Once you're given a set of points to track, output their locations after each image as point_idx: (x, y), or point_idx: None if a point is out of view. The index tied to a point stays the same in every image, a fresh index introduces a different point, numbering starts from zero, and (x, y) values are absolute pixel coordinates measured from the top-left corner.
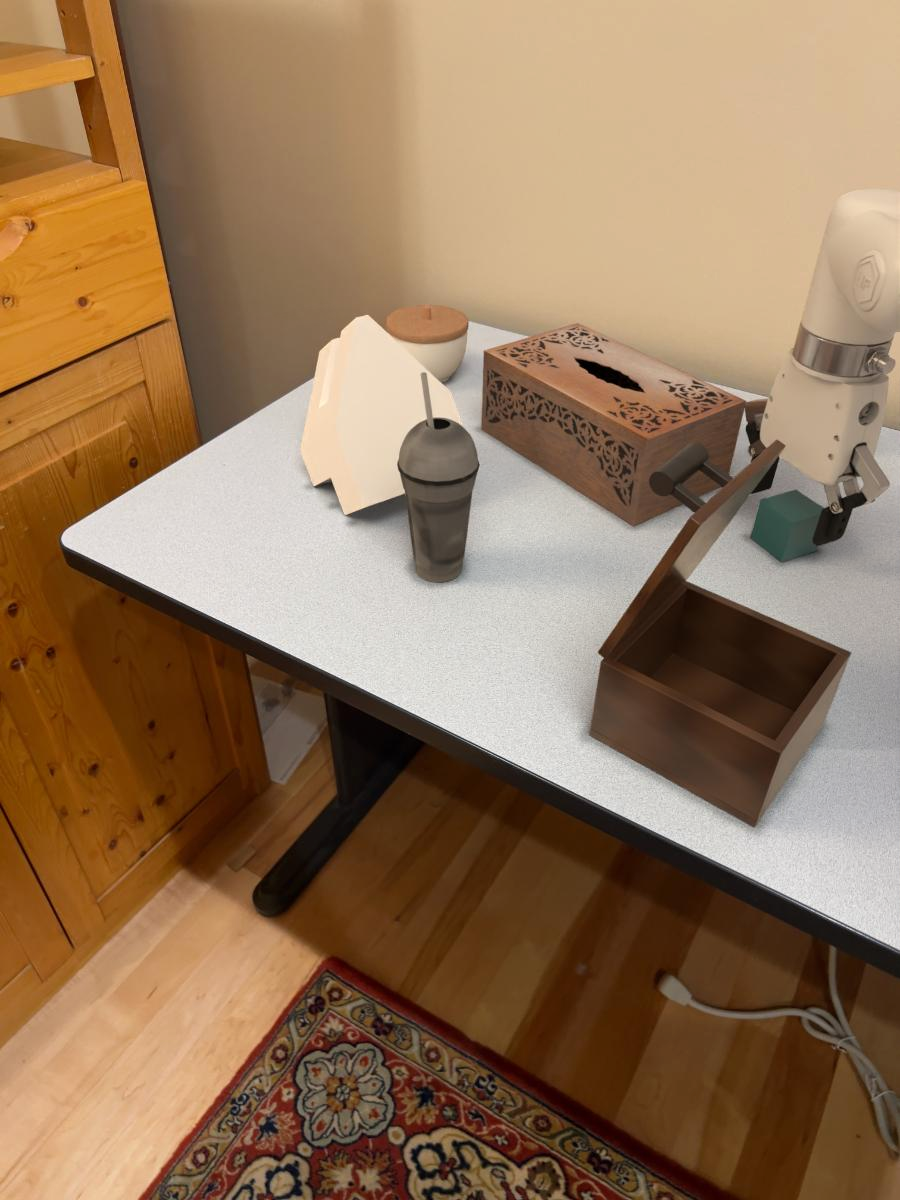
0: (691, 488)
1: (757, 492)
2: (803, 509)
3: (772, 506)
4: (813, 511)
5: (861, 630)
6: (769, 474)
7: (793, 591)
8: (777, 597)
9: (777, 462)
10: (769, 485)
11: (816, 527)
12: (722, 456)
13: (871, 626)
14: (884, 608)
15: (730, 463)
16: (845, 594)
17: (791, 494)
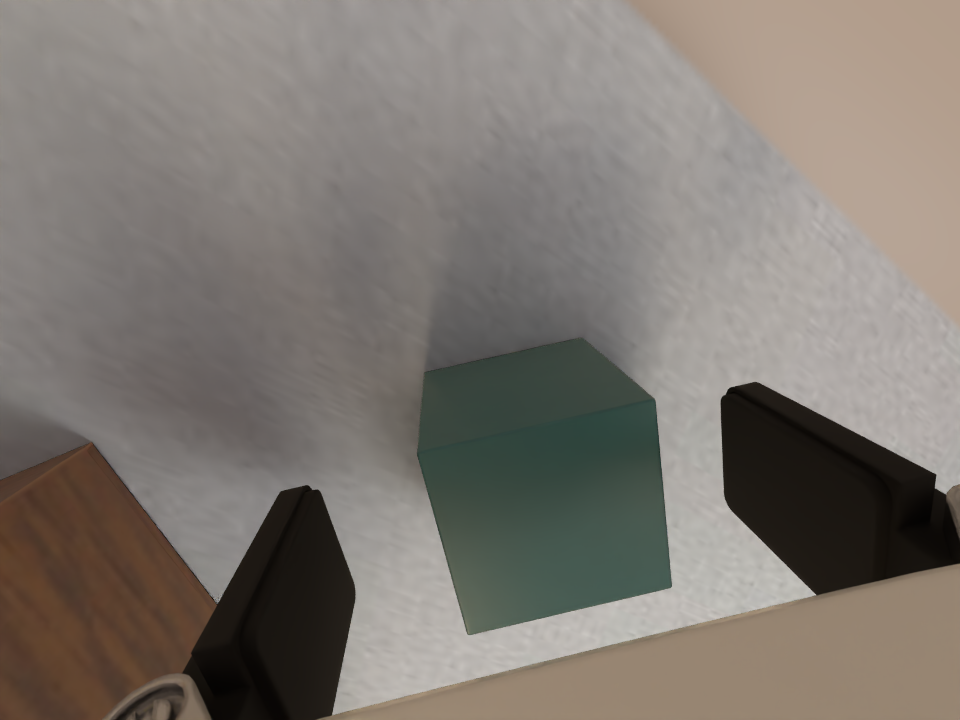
0: (186, 644)
1: (341, 551)
2: (596, 504)
3: (533, 612)
4: (627, 472)
5: (929, 415)
6: (304, 578)
7: (725, 501)
8: (729, 549)
9: (270, 608)
10: (316, 511)
11: (772, 549)
12: (7, 615)
13: (933, 380)
14: (899, 296)
15: (11, 506)
16: (798, 372)
17: (461, 498)
